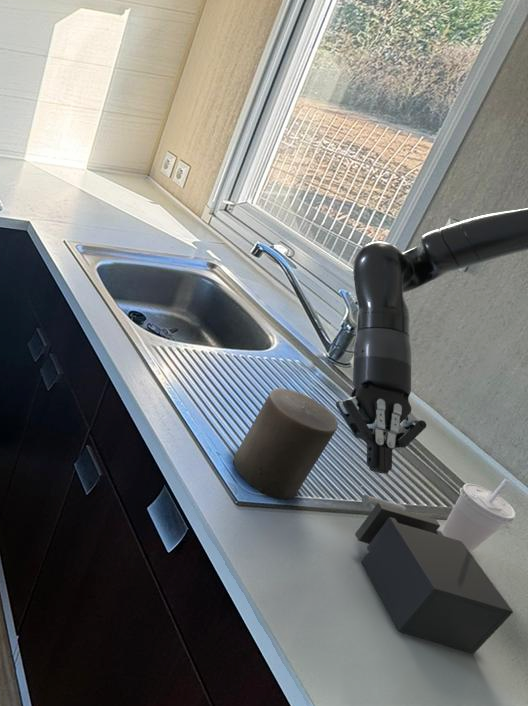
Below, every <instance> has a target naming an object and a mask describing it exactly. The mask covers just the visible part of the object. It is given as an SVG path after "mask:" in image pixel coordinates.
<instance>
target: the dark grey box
mask: <svg viewBox="0 0 528 706" xmlns="http://www.w3.org/2000/svg"><path fill="white" fill-rule="evenodd" d="M360 562H361V564H362V566H363V569H364V570H365V571H366V573H367V576H368V577H369V579H370V581H371V583H372V584H373V586H374V588H375V590H376V593H377V594H378V596H379V598H380V600H381V601H382V603H383V605H384V607H385V609H386V610H387V612H388V615H389V616H390V618H391V620H392V622H393V624H394V626H395V627H396V629H397V631H398V632H400V633H402V634H407V635H410V636H413V637H417V638H419V639H423V640H426V641H430V642H432V643H437V644H440V645H443V646H446V647H450V648H453V649H455V650H460V651H463V652H467V653H470V654H473V655H474V654H476V652H477V651H478V650H479V649H480V648H481V647H482V646H483V645H484V644H485V643H486V642H487V640H489V638H491V637H492V635H493V634H494V633H496V631H497V630H498V629H499V628H500V627H501V626H502V625H503V624H504V623H505V622H506V621H507V620H508V619H509V618H510V617H511V615H512V614H513V613H514V611H513V609H512V608H511V607H510V605H509V604H508V603H507V601H506V600H505V598H504V597H503V596H502V594H501V593H500V592H499V590H498V589H497V587H496V586H495V585H494V583H493V582H492V581H491V580H490V577H488V575H487V574H486V573H485V571H484V570H483V568H482V567H481V566H480V564H479V563H478V562H477V560H476V559H475V558H474V556H473V555H472V553H471V552H469V551H468V549H467V548H466V547H465V545H464V544H463V543H462V541H459V540H456V539H452V538H449V537H445V536H442V535H438V534H435V533H431V532H428V531H425V530H421V529H418V528H414V527H411V526H407V525H404V524H400V523H397V522H393V521H391V523H390V524H389V525H388V526H387V528H386V529H385V530H384V532H383V533H382V535H381V536H380V537H379V539H378V540H377V541H376V543H375V544H374V545H373V547H372V548H371V549H370V551H368V552H367V553H366V554H365V556H364V557H363V559H362V560H361V561H360Z"/></svg>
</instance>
